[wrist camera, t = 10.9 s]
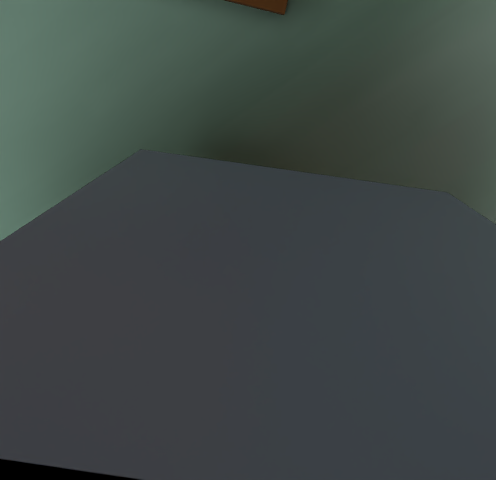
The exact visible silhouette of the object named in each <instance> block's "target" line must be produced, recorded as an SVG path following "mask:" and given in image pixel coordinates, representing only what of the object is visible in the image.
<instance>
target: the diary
mask: <svg viewBox="0 0 496 480" xmlns="http://www.w3.org/2000/svg"><path fill="white" fill-rule="evenodd" d="M225 1H229V2H233V3H237V4H241V5H245V6H249V7H253V8H257V9H261V10H265V11H269V12H273V13H277V14H281V15H284V14H285V11H286V6H287V2H288V0H225Z"/></svg>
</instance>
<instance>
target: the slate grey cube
mask: <svg viewBox="0 0 496 480" xmlns="http://www.w3.org/2000/svg"><path fill="white" fill-rule="evenodd" d="M0 480H496V224H494V223H493V222H491V221H490V220H488V219H487V218H485V217H484V216H482V215H481V214H479V213H478V212H476V211H475V210H473V209H472V208H470V207H469V206H467V205H466V204H464V203H463V202H461V201H460V200H458V199H457V198H455V197H454V196H452V195H451V194H449V193H447V192H440V191H433V190H426V189H419V188H412V187H405V186H398V185H391V184H384V183H377V182H370V181H362V180H355V179H348V178H341V177H334V176H327V175H320V174H313V173H306V172H299V171H292V170H285V169H278V168H270V167H263V166H256V165H249V164H242V163H235V162H228V161H221V160H214V159H207V158H200V157H193V156H186V155H179V154H171V153H164V152H157V151H150V150H143V149H140V150H139V151H137V152H136V153H134V154H133V155H131V156H130V157H128V158H127V159H125V160H124V161H122V162H121V163H119V164H118V165H116V166H115V167H113V168H111V169H110V170H108V171H107V172H105V173H104V174H102V175H101V176H99V177H98V178H96V179H95V180H93V181H92V182H90V183H89V184H87V185H86V186H84V187H82V188H81V189H79V190H78V191H76V192H75V193H73V194H72V195H70V196H69V197H67V198H66V199H64V200H63V201H61V202H60V203H58V204H57V205H55V206H53V207H52V208H50V209H49V210H47V211H46V212H44V213H43V214H41V215H40V216H38V217H37V218H35V219H34V220H32V221H31V222H29V223H28V224H26V225H24V226H23V227H21V228H20V229H18V230H17V231H15V232H14V233H12V234H11V235H9V236H8V237H6V238H5V239H3V240H2V241H0Z"/></svg>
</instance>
